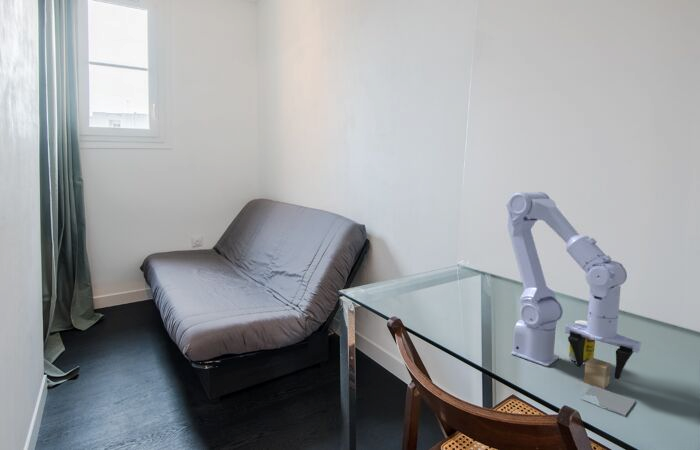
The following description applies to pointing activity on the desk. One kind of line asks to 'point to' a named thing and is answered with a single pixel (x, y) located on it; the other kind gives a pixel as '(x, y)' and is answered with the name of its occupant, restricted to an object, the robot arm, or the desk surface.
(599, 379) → the oak block
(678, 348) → the desk surface
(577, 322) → the supplement bottle
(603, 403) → the pad
